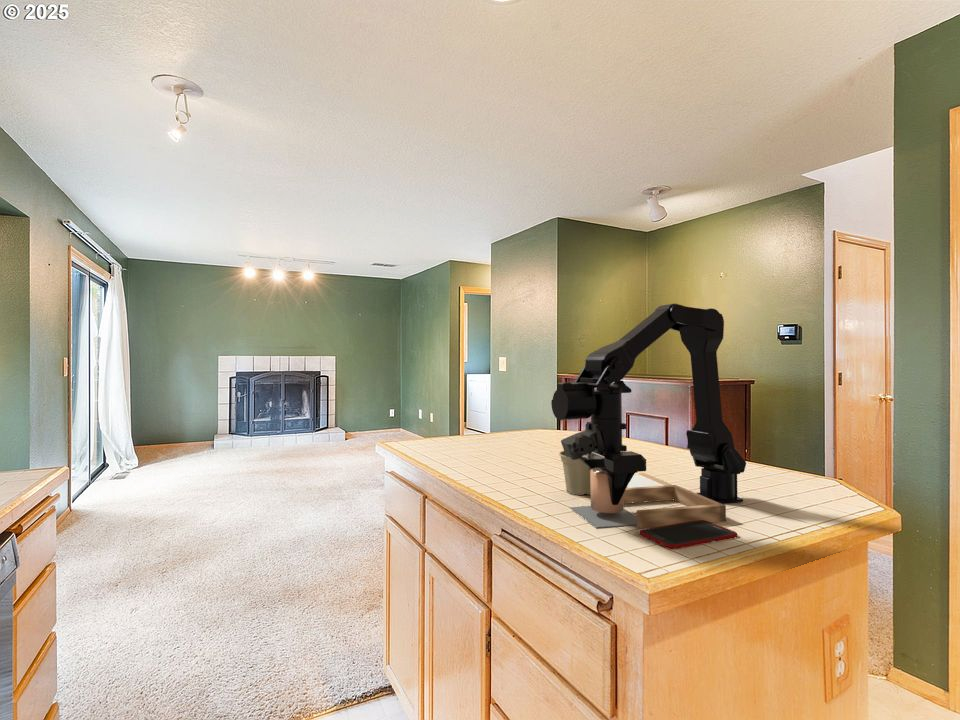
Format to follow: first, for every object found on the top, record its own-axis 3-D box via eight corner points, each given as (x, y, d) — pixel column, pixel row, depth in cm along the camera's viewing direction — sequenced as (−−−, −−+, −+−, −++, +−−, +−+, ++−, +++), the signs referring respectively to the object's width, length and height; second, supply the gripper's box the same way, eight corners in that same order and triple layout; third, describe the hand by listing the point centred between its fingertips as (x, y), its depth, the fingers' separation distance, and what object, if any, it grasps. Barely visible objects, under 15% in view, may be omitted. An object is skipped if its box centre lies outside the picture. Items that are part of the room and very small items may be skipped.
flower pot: (603, 498, 104) (602, 458, 104) (558, 496, 106) (557, 456, 106) (601, 487, 113) (600, 450, 113) (560, 485, 115) (559, 449, 115)
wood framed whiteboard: (599, 479, 121) (599, 475, 121) (643, 476, 123) (643, 472, 123) (634, 498, 104) (634, 493, 104) (685, 494, 106) (685, 490, 106)
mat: (616, 504, 99) (616, 503, 99) (648, 524, 88) (648, 522, 88) (569, 508, 97) (569, 507, 97) (596, 528, 86) (596, 527, 86)
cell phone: (636, 536, 83) (636, 530, 83) (703, 524, 88) (703, 519, 88) (670, 552, 76) (670, 546, 76) (740, 539, 81) (740, 533, 81)
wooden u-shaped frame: (675, 497, 104) (675, 484, 104) (725, 521, 89) (725, 505, 89) (601, 503, 100) (601, 489, 100) (640, 528, 85) (640, 512, 85)
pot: (614, 502, 96) (613, 465, 96) (629, 511, 90) (629, 472, 90) (585, 504, 95) (585, 467, 95) (599, 514, 89) (598, 474, 89)
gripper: (548, 413, 100) (549, 490, 100) (586, 425, 82) (587, 518, 82) (599, 411, 102) (600, 486, 102) (647, 422, 84) (648, 513, 84)
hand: (607, 500), depth 92 cm, fingers closed on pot, 6 cm apart
